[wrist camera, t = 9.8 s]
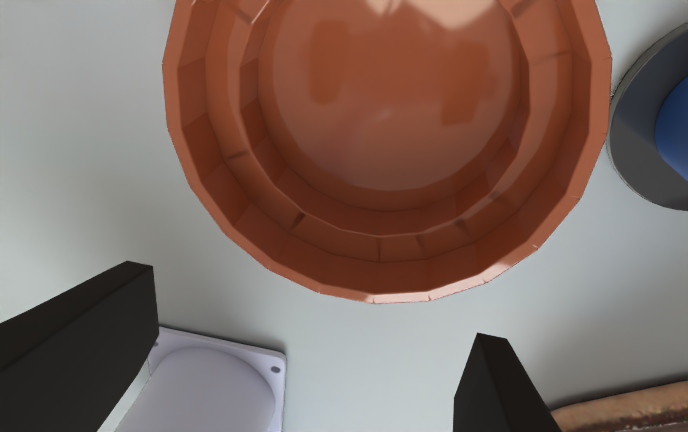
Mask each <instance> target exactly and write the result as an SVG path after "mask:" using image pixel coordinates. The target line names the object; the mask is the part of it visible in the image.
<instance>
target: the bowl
mask: <svg viewBox="0 0 688 432" xmlns="http://www.w3.org/2000/svg"><path fill="white" fill-rule="evenodd" d="M162 63H163V64H162V71H163V83H164V95H165V107H166V119H167V128H168V132H169V134H170V137H171V140H172V142H173V145H174V147H175V150H176V153H177V155H178V158H179V160H180V163H181V166H182V168H183V171H184V173H185V176H186V179H187V181H188V184H189V185H190V188H191V189H192V190H193V192H194V193H195V195H196V196H197V197H198V199H199V200H200V201H201V203H202V204H203V205H204V207H205V208H206V210H207V211H208V212H209V214H210V215H211V216H212V218H213V219H214V220H215V222H216V223H217V225H218V226H219V227H220V229H221V230H222V231H223V232H224V233H225V235H226V236H228V237H229V238H230V239H231V240H232V241H234V242H235V243H236V244H237V245H239V246H240V247H241V248H242V249H243V250H245V251H246V252H247V253H248V254H250V255H251V256H252V257H253V258H254V259H256V260H257V261H258V262H259V263H261V264H262V265H263V266H264V267H265V268H267V269H269V270H270V271H272V272H274V273H276V274H279V275H281V276H283V277H285V278H287V279H289V280H291V281H294V282H296V283H298V284H300V285H302V286H304V287H306V288H308V289H311V290H313V291H315V292H317V293H320V294H325V295H330V296H335V297H340V298H345V299H350V300H355V301H361V302H366V303H371V304H373V303H374V304H384V303H403V302H422V301H430V300H431V301H432V300H435V299H438V298H442V297H445V296H448V295H451V294H454V293H457V292H460V291H463V290H467V289H470V288H473V287H476V286H479V285H482V284H485V283H488V282H489V281H491V280H492V279H494V278H495V277H497V276H498V275H500V274H501V273H503V272H505V271H506V270H508V269H509V268H511V267H512V266H514V265H515V264H517V263H518V262H520V261H521V260H523V259H524V258H526V257H527V256H529V255H531V254H532V253H534V252H535V251H537V250H538V248H540V247H541V245H542V244H543V243H544V242H545V241H546V240H547V238H548V237H549V236H550V235H551V234H552V232H553V231H554V230H555V229H556V228H557V226H558V225H559V224H560V223H561V222H562V221H563V219H564V218H565V217H566V216H567V215H568V213H569V212H570V211H571V210H572V209H573V208H574V206H575V205H576V204H577V203H578V202H579V200H580V198H581V197H582V195H583V192H584V190H585V188H586V185H587V183H588V180H589V178H590V175H591V173H592V171H593V168H594V166H595V163H596V161H597V158H598V156H599V154H600V151H601V149H602V146H603V144H604V141H605V139H606V137H607V133H608V127H609V109H610V91H611V73H612V57H611V50H610V47H609V44H608V41H607V38H606V34H605V31H604V28H603V25H602V22H601V18H600V15H599V12H598V9H597V6H596V2H595V0H176V4H175V9H174V13H173V17H172V22H171V26H170V31H169V35H168V39H167V44H166V48H165V52H164V57H163V61H162Z"/></svg>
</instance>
